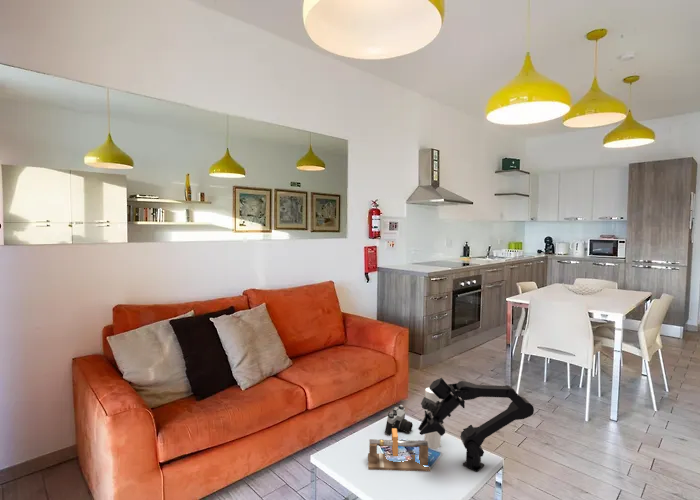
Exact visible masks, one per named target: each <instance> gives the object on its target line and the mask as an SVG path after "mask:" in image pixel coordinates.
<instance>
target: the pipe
mask: <svg viewBox="0 0 700 500" xmlns="http://www.w3.org/2000/svg"><path fill="white" fill-rule="evenodd" d="M370 444H377V447H378V446H379V447H392V446H393V440H392V439H384V438H383V439H377V440H370ZM420 445H427V446H428V442H427V441H425V440H405V439H404V440H399V439H398V447H409V448H410V447H411V448H412V447H417V448H419V447H420Z"/></svg>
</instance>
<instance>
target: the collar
mask: <svg viewBox="0 0 700 500" xmlns="http://www.w3.org/2000/svg"><path fill="white" fill-rule="evenodd" d="M391 440H393V446H391V452H392V453H391V454H393V456H398V454H399V446H398V440H399V435H398V430H397V428H392V434H391Z"/></svg>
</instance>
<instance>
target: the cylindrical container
mask: <svg viewBox="0 0 700 500" xmlns="http://www.w3.org/2000/svg"><path fill="white" fill-rule="evenodd" d="M424 393H425V396H424V397H426V398H428V399H430V400H432V401H434V402H435V403H436V402H437V401H440V402H441V401H442V399H439V398H438V397H437V396H436V395H435V394H434V393H433V392H432V391H431V390H430V386H429V387H426V388H425V390H424ZM425 411H427V410H426V409H424V412H425ZM440 423H441V422H440ZM441 438H442V436H441V435H440V434H439V433H438V432H437V431H436V432H431V433H427V434H424V441H427V442H428V449H429V448H430V449H434V450H436V449H440V447H441V445H442V444H441V442H442V439H441Z"/></svg>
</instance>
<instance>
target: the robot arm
mask: <svg viewBox="0 0 700 500" xmlns="http://www.w3.org/2000/svg"><path fill="white" fill-rule="evenodd" d="M429 387H430V390H431V391H432V392H433V393H434V394H435V395H436V396H437V397H438V398H439V399H441V402H440V401H437V402H436V403H435V402H434V401H432V400H430V399H428V398H426V397H425V396H424V397H423V399H422V400H421V402H420V405H421V408H422V409H424V417H423V418H422V419H423V420H422V421H421V422H420V425H419V426H418V430H419V433H418V434H420V436H422V435H425V434H427V433H431V432H436V431H437V432H438V433H439V434H440V435H441V437H443V436H444V435H445V434H446V429H445V426H444V423H445V422H444V420H445V419H446V418H447V417H448V418H450V417H452V415H451V413H453V412H454V411H455V409H457V408H458V407H459V406H461V407H462V409H465V404H466V403H465V402H466V401H470V400H475V399H477V398H503V399H504V398H508V399H510V400H511V402H510V403H509V405H508V407H507V408H506V409H505V410H503V411H502V412H499V413H498V414H497V415H495V416H494V417H492V418H490V419H489V420H487V421H486V422H484V423H482V424H481V425H479V426H475V427H474V426H473V425H472V424H470V425H468V426H467V427H465V428H463V429H462V431H461V432H460V435H459V436H460V440H461V443H462V445H463V447H464V448H465V450H466V454H465V455H466V456H465V461H464V462H462V465H463V466H464V467H466V468H468V469H470V470H472V471H474V472H476V473H477V472H479V471H480V470H481V469H482V468H483V467H484V466H485V464H484V463H482V457H483V456H484V454H485V451H484V449H483V448H482V444H483V443H484V441H485V440H486V439H487V438H488V437H490V436H492V435H493V434H495V433H496V432H498V431H500V430H501V429H503V428H505V427H506V426H508V425H510V424H511V423H513V422H514V421H519V420H525V419H527V418H530V417H532V416H533V415H534V411H535V408H534V406H533V404H531V402H529V400H527V399H526V397H524V396H520V395H519V394H518V393H517V392H516V390H515V389H514V388H513V387H512V386H511V385H506V384H505V385H489V384H488V385H487V384H485V385H484V384H475V383H473V382H470V381H466V380H460V381H458V382H454V383H447V382H446V381H445V380H444V378H443V377H440V378H436V379H435V380H433V381H432V382H431V384H430V385H429ZM425 409H426V410H427V411H425ZM440 422H441V423H440Z"/></svg>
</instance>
